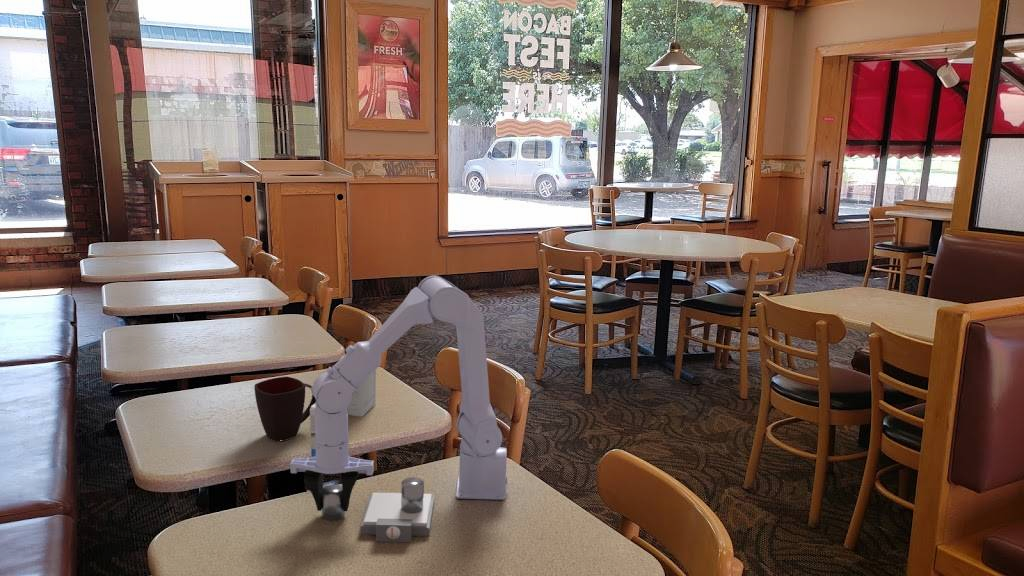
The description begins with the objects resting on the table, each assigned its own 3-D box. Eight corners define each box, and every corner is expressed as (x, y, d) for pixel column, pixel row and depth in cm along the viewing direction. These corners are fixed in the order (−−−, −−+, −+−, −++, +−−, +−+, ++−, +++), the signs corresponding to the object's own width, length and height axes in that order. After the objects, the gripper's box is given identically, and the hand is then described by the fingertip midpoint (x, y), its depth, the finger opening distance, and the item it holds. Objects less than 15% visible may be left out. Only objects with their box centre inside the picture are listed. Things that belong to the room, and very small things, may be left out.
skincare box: (354, 401, 185) (354, 345, 181) (377, 405, 184) (376, 348, 180) (339, 414, 177) (338, 356, 173) (362, 418, 176) (362, 359, 172)
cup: (250, 434, 165) (247, 384, 162) (305, 417, 175) (304, 370, 172) (271, 449, 158) (269, 397, 155) (328, 431, 168) (327, 382, 165)
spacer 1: (347, 509, 136) (346, 485, 135) (341, 521, 132) (340, 496, 131) (326, 508, 136) (325, 484, 135) (319, 520, 133) (318, 495, 131)
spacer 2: (402, 501, 136) (402, 476, 134) (424, 501, 136) (424, 477, 134) (399, 513, 132) (400, 488, 130) (422, 513, 132) (422, 489, 131)
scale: (434, 503, 140) (434, 487, 139) (428, 543, 127) (428, 527, 126) (370, 501, 139) (370, 486, 139) (358, 541, 127) (358, 525, 126)
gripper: (376, 430, 135) (376, 497, 138) (296, 428, 134) (299, 495, 138) (370, 448, 128) (370, 518, 131) (286, 446, 128) (288, 516, 131)
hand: (333, 508), depth 134 cm, fingers closed on spacer 1, 4 cm apart
